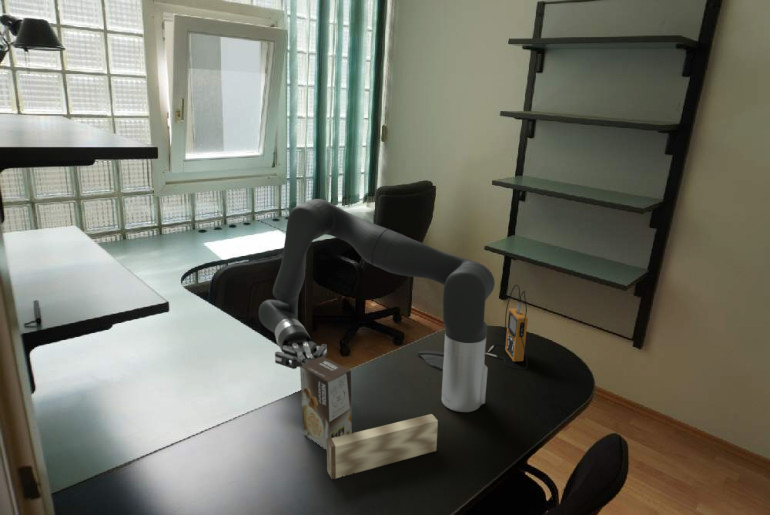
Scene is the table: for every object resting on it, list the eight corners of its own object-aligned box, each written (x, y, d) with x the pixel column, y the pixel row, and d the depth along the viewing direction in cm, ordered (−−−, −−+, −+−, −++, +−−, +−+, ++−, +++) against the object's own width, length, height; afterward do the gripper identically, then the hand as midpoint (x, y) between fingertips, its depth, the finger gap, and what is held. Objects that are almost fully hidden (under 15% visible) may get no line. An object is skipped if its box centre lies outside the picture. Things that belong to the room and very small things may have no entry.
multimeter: (476, 345, 149) (481, 280, 143) (509, 344, 150) (516, 279, 145) (491, 371, 135) (498, 299, 129) (528, 369, 136) (536, 298, 131)
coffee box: (353, 439, 107) (353, 370, 102) (330, 454, 103) (328, 382, 98) (324, 421, 113) (322, 355, 108) (300, 434, 109) (298, 365, 104)
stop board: (430, 443, 106) (431, 412, 104) (436, 451, 104) (438, 420, 102) (327, 470, 98) (326, 438, 96) (331, 480, 96) (331, 446, 93)
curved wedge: (431, 349, 147) (431, 344, 147) (471, 366, 138) (471, 360, 138) (412, 359, 142) (412, 354, 141) (452, 377, 133) (452, 371, 132)
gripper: (265, 328, 125) (281, 361, 110) (318, 320, 130) (340, 351, 115) (266, 355, 127) (282, 392, 112) (318, 347, 133) (339, 381, 117)
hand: (311, 371), depth 114 cm, fingers closed
